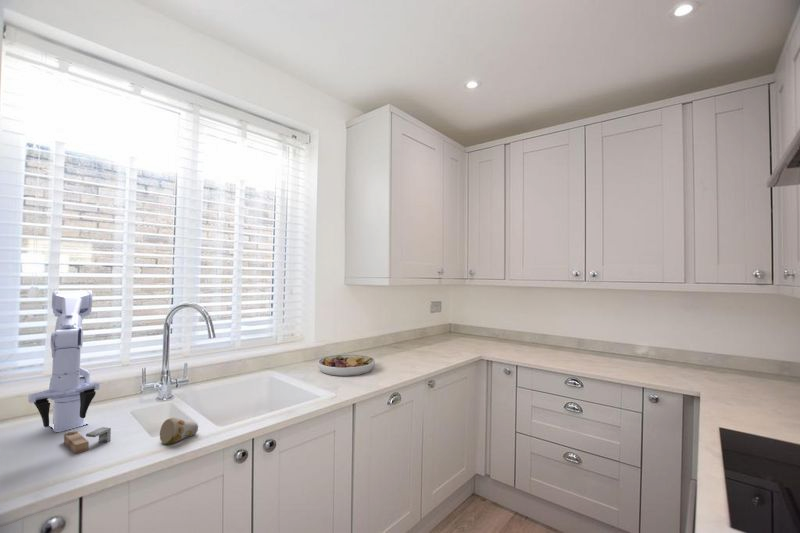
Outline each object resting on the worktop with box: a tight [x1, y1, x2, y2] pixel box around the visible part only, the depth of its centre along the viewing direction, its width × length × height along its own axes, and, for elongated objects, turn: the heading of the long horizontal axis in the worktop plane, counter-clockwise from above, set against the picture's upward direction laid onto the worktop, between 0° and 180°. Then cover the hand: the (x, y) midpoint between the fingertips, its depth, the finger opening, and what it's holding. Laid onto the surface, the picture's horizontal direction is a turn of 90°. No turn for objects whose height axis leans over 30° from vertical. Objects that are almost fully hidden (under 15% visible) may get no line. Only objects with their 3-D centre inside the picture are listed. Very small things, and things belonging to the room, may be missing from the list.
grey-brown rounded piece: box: [159, 417, 199, 445], centre depth 112 cm, size 8×10×10 cm
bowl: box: [317, 354, 376, 377], centre depth 195 cm, size 30×30×8 cm
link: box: [63, 429, 90, 455], centre depth 106 cm, size 12×3×3 cm, turn 54°
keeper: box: [85, 426, 112, 443], centre depth 108 cm, size 3×5×4 cm, turn 169°
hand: (64, 421), depth 102 cm, fingers open, 7 cm apart
